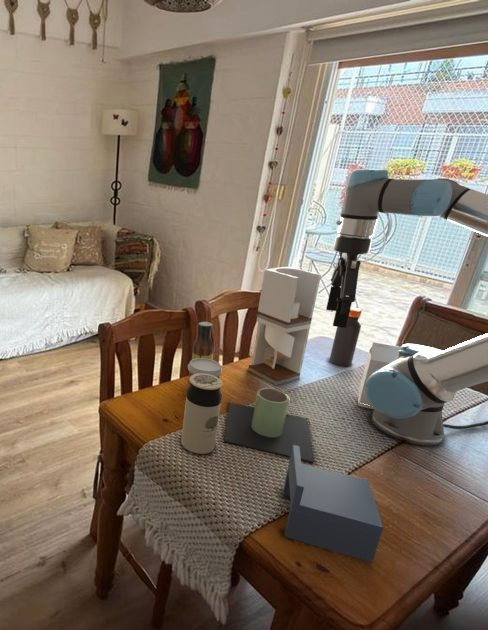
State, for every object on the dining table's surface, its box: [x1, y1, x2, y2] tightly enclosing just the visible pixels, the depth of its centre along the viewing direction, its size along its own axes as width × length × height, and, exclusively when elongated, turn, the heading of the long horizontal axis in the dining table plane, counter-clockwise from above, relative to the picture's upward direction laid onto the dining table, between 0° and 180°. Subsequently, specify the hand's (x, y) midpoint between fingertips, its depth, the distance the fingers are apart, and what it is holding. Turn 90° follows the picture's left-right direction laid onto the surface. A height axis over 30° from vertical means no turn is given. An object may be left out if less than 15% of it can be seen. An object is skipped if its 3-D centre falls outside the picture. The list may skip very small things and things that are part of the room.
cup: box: [251, 387, 290, 437], centre depth 113 cm, size 8×8×10 cm
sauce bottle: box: [191, 321, 214, 360], centre depth 137 cm, size 7×6×20 cm
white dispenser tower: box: [247, 265, 322, 386], centre depth 140 cm, size 11×11×35 cm
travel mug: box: [180, 373, 223, 455], centre depth 106 cm, size 8×8×18 cm
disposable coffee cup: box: [187, 358, 223, 387], centre depth 127 cm, size 10×10×12 cm
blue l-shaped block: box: [282, 445, 384, 564], centre depth 84 cm, size 14×13×12 cm
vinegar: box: [329, 306, 362, 367], centre depth 152 cm, size 7×7×20 cm
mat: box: [223, 402, 314, 464], centre depth 115 cm, size 20×20×1 cm
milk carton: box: [357, 341, 401, 411], centre depth 125 cm, size 7×7×19 cm
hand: (335, 318), depth 113 cm, fingers open, 13 cm apart
